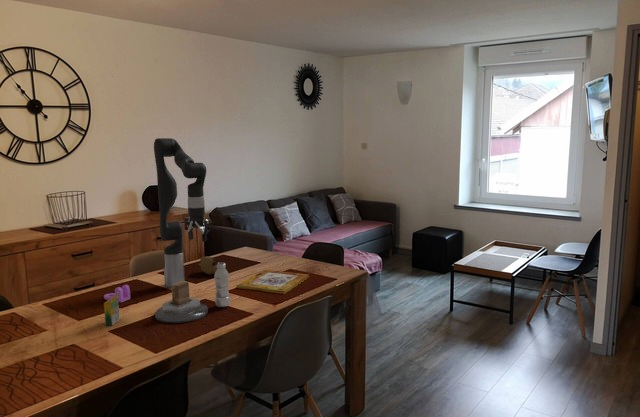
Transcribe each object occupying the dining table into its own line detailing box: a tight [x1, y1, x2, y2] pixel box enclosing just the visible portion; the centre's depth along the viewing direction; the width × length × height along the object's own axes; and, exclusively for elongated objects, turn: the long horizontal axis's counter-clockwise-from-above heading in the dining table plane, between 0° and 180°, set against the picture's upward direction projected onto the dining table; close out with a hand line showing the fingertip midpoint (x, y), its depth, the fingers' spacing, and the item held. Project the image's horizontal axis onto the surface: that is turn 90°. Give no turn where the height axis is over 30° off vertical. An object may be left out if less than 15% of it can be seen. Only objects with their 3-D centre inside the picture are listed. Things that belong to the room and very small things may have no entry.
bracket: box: [103, 284, 131, 303], centre depth 234 cm, size 13×6×7 cm, turn 64°
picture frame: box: [236, 269, 310, 295], centre depth 258 cm, size 27×2×30 cm
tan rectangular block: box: [171, 281, 190, 305], centre depth 213 cm, size 4×6×12 cm, turn 150°
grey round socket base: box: [154, 296, 209, 324], centre depth 214 cm, size 22×22×6 cm
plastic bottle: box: [213, 261, 231, 308], centre depth 221 cm, size 6×7×20 cm
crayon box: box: [103, 293, 121, 327], centre depth 204 cm, size 7×3×12 cm, turn 178°
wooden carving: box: [198, 255, 218, 275], centre depth 275 cm, size 16×5×10 cm, turn 58°
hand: (197, 240), depth 230 cm, fingers open, 8 cm apart
